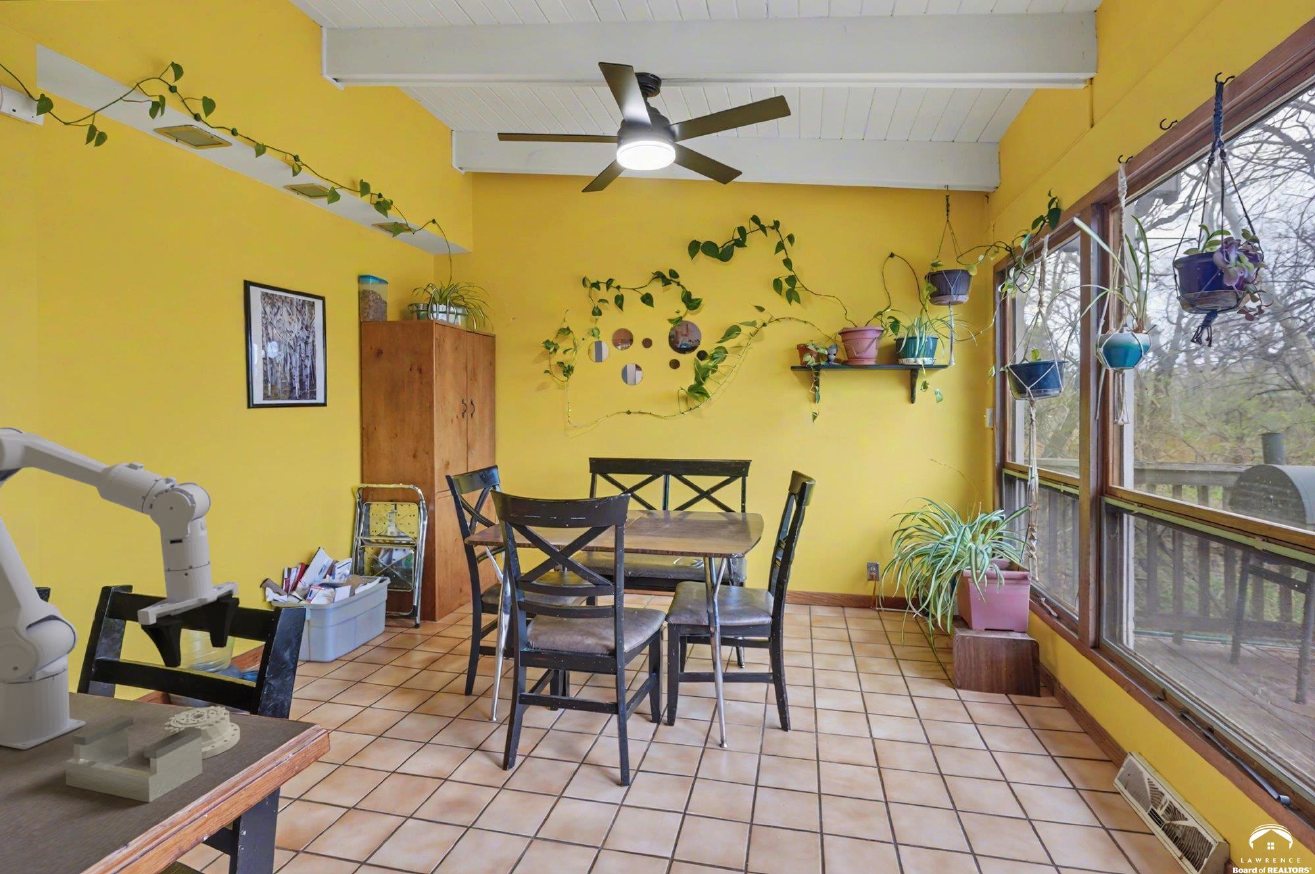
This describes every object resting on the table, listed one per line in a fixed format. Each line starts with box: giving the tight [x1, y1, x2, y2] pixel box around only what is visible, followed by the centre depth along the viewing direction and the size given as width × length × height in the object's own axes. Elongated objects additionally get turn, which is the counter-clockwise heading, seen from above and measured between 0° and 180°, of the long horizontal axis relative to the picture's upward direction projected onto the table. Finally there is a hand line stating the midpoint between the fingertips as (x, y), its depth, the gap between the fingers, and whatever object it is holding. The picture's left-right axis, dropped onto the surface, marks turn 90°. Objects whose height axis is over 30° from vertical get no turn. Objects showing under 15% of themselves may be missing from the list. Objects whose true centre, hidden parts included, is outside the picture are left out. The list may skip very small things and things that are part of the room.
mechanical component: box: [156, 705, 241, 761], centre depth 97 cm, size 10×4×10 cm
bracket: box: [64, 715, 203, 803], centre depth 88 cm, size 14×7×6 cm, turn 74°
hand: (197, 656), depth 103 cm, fingers open, 7 cm apart
